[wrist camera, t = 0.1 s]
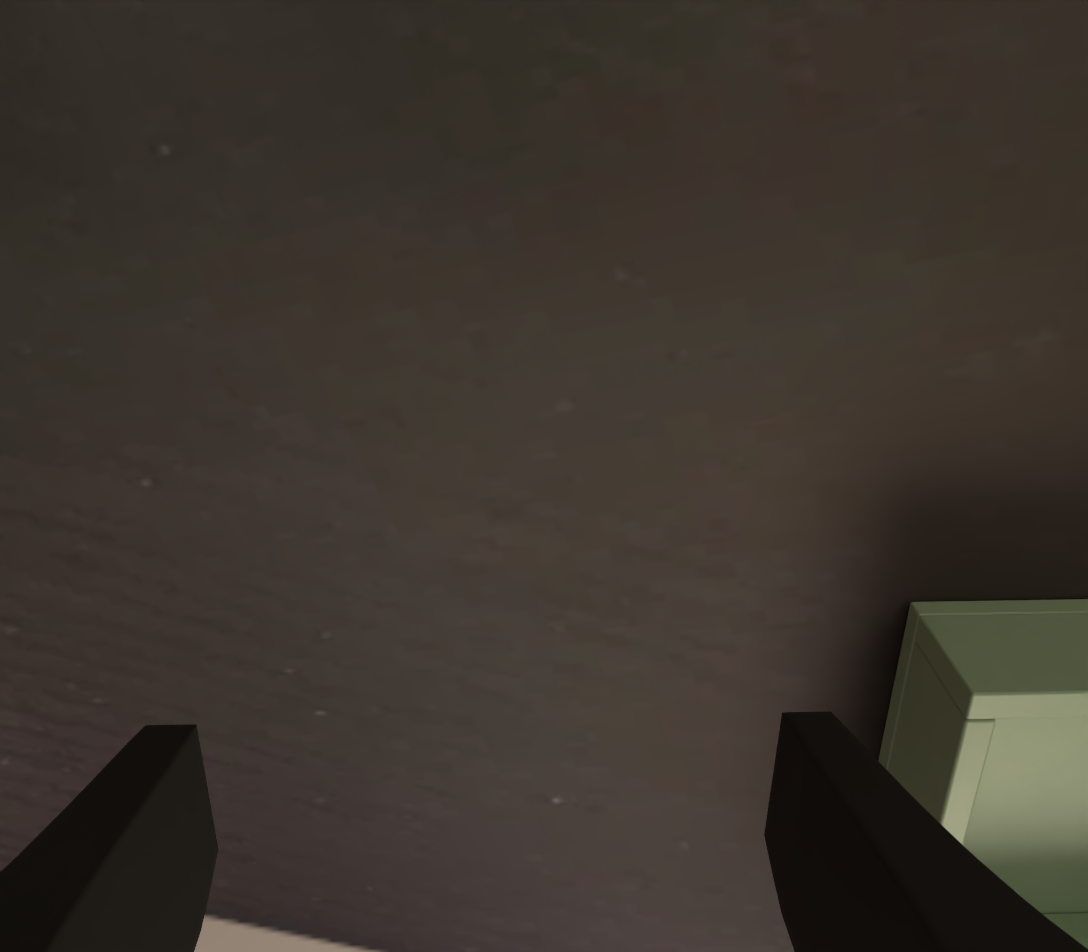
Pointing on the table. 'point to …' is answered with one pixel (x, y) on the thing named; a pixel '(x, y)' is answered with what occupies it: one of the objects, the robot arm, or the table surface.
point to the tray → (1001, 740)
